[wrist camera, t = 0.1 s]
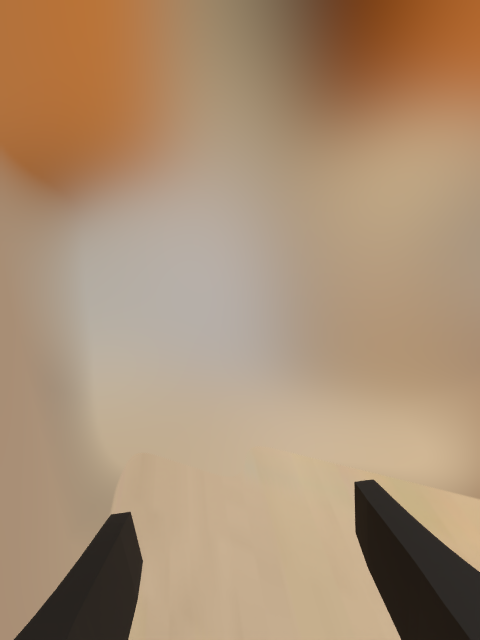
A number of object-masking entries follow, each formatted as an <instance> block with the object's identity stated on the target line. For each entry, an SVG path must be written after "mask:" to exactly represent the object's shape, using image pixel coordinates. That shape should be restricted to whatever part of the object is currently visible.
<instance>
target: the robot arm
mask: <svg viewBox="0 0 480 640" xmlns="http://www.w3.org/2000/svg"><path fill="white" fill-rule="evenodd" d="M354 484H355V528H356V535H357V538H358V541H359V544H360V546H361V549H362V552H363V555H364V558H365V561H366V563H367V566H368V569H369V571H370V573H371V575H372V577H373V580H374V582H375V584H376V586H377V588H378V590H379V593H380V595H381V597H382V599H383V601H384V603H385V605H386V607H387V610H388V612H389V614H390V616H391V618H392V620H393V622H394V625H395V627H396V629H397V631H398V633H399V635H400V637H401V640H480V572H479V571H477V570H476V569H475V568H474V567H472V566H471V565H470V564H468V563H467V562H466V561H464V560H463V559H462V558H461V557H459V556H458V555H457V554H456V553H455V552H453V551H452V550H451V549H450V548H448V547H447V546H446V545H445V544H444V543H442V542H441V541H440V540H439V539H438V538H436V537H435V536H434V535H433V534H432V533H431V532H430V531H428V530H427V529H426V528H425V527H424V526H423V525H422V524H420V523H419V522H418V521H417V520H416V519H415V518H414V517H413V516H412V515H410V514H409V513H408V512H407V511H406V510H405V509H404V508H403V507H402V506H401V505H400V504H399V503H398V502H397V501H395V500H394V499H393V498H392V497H391V496H390V495H389V494H388V493H387V492H386V491H385V490H384V489H383V488H382V487H381V486H380V485H379V484H378V483H377V482H376V481H374V480H366V481H358V482H354ZM142 564H143V560H142V556H141V552H140V548H139V544H138V540H137V536H136V532H135V528H134V524H133V520H132V516H131V512H126V513H119V514H111V516H110V517H109V518H108V519H107V521H106V522H105V524H104V525H103V526H102V528H101V529H100V531H99V532H98V533H97V535H96V536H95V538H94V539H93V540H92V542H91V543H90V545H89V546H88V547H87V549H86V550H85V551H84V553H83V554H82V556H81V557H80V558H79V560H78V561H77V562H76V564H75V565H74V566H73V568H72V569H71V570H70V572H69V573H68V574H67V576H66V577H65V578H64V580H63V581H62V582H61V583H60V585H59V586H58V587H57V589H56V590H55V591H54V592H53V594H52V595H51V596H50V597H49V599H48V600H47V601H46V602H45V603H44V605H43V606H42V607H41V609H40V610H39V611H38V612H37V613H36V615H35V616H34V617H33V618H32V619H31V621H30V622H29V623H28V624H27V625H26V626H25V627H24V629H23V630H22V631H21V632H20V633H19V634H18V636H17V637H16V638H15V639H14V640H128V637H129V633H130V629H131V625H132V621H133V617H134V612H135V608H136V604H137V600H138V593H139V586H140V579H141V571H142Z"/></svg>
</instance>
